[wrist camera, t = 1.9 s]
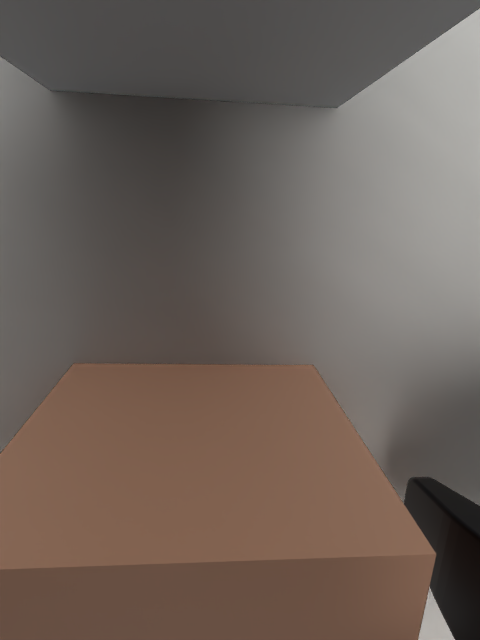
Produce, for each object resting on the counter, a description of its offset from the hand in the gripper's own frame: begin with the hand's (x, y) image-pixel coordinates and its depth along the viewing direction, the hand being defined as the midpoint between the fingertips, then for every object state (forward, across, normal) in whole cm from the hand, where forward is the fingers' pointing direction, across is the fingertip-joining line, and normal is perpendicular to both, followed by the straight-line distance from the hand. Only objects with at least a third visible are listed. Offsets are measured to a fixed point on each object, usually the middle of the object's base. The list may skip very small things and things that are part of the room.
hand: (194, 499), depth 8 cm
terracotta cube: (+1, 0, 0) cm, 1 cm away
